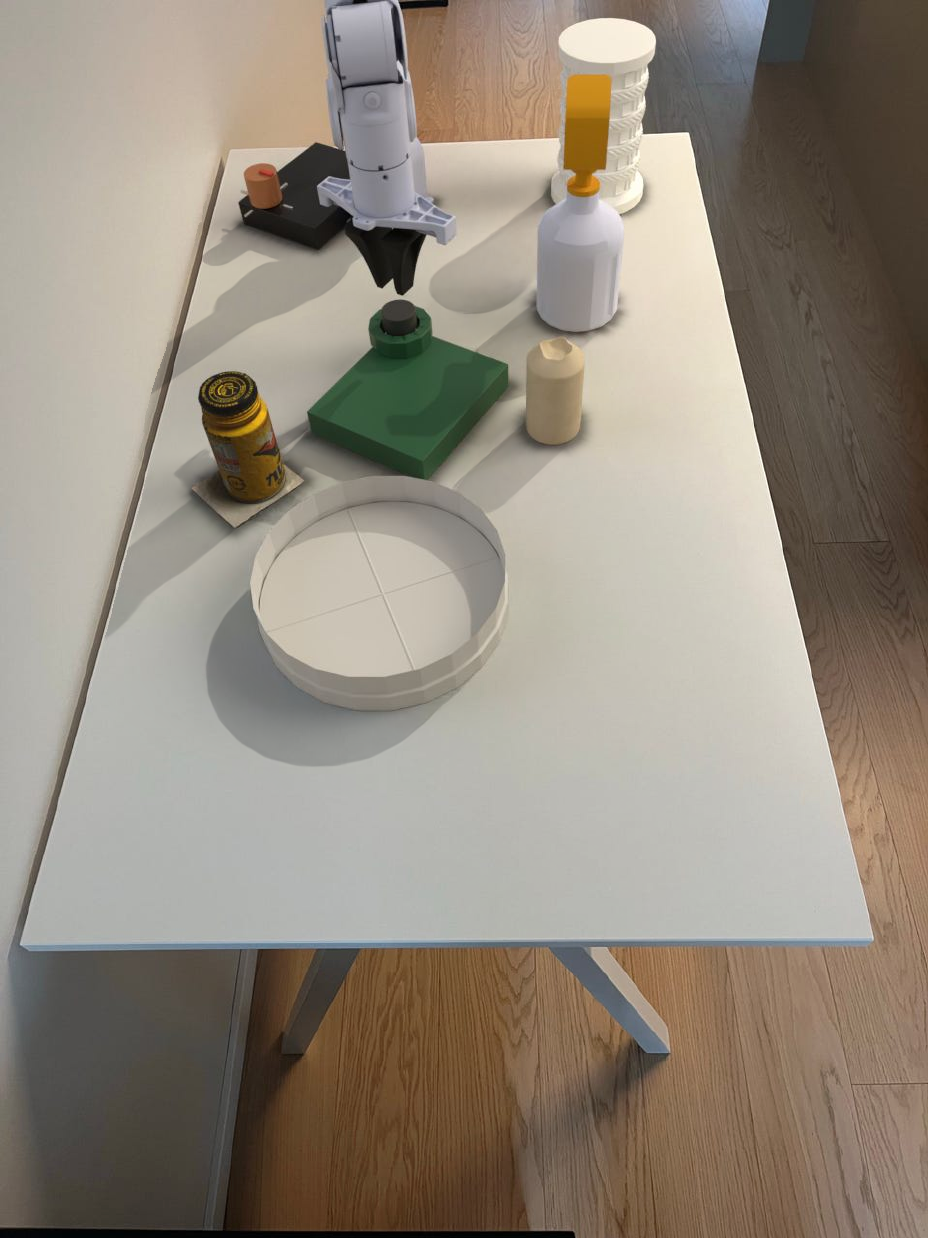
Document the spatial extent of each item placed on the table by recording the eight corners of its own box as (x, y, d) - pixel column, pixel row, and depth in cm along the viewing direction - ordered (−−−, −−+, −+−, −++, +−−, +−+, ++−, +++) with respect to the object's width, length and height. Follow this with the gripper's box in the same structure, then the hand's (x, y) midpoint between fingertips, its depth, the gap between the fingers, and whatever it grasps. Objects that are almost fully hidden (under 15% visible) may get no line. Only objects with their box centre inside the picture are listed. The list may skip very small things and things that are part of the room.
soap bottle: (616, 284, 110) (638, 58, 90) (616, 335, 104) (638, 107, 84) (538, 282, 110) (542, 59, 90) (534, 333, 105) (537, 107, 85)
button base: (396, 335, 106) (392, 297, 102) (514, 379, 101) (514, 341, 97) (302, 429, 98) (292, 392, 94) (425, 483, 93) (420, 445, 89)
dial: (243, 203, 118) (236, 173, 114) (264, 187, 120) (257, 157, 116) (268, 212, 116) (261, 181, 113) (289, 195, 118) (282, 165, 115)
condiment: (304, 481, 94) (279, 387, 84) (235, 529, 91) (200, 436, 81) (260, 445, 97) (231, 350, 87) (192, 490, 94) (153, 396, 84)
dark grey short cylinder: (395, 311, 101) (393, 295, 100) (423, 321, 100) (422, 305, 98) (376, 330, 100) (373, 314, 98) (404, 341, 98) (402, 324, 97)
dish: (236, 551, 89) (222, 516, 85) (457, 483, 93) (454, 446, 88) (296, 748, 76) (284, 718, 72) (549, 660, 80) (550, 626, 76)
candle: (516, 435, 96) (516, 355, 88) (539, 401, 99) (541, 321, 91) (566, 452, 94) (571, 372, 86) (588, 417, 97) (595, 336, 89)
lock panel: (313, 161, 128) (309, 138, 126) (392, 186, 124) (389, 162, 121) (226, 230, 120) (219, 206, 117) (307, 259, 115) (303, 235, 113)
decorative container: (634, 163, 124) (649, 12, 109) (649, 213, 117) (668, 59, 103) (545, 170, 124) (549, 20, 109) (556, 221, 117) (561, 68, 103)
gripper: (287, 155, 85) (314, 286, 96) (421, 197, 80) (433, 330, 91) (334, 119, 89) (354, 249, 100) (465, 157, 84) (472, 290, 95)
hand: (395, 285), depth 96 cm, fingers closed
